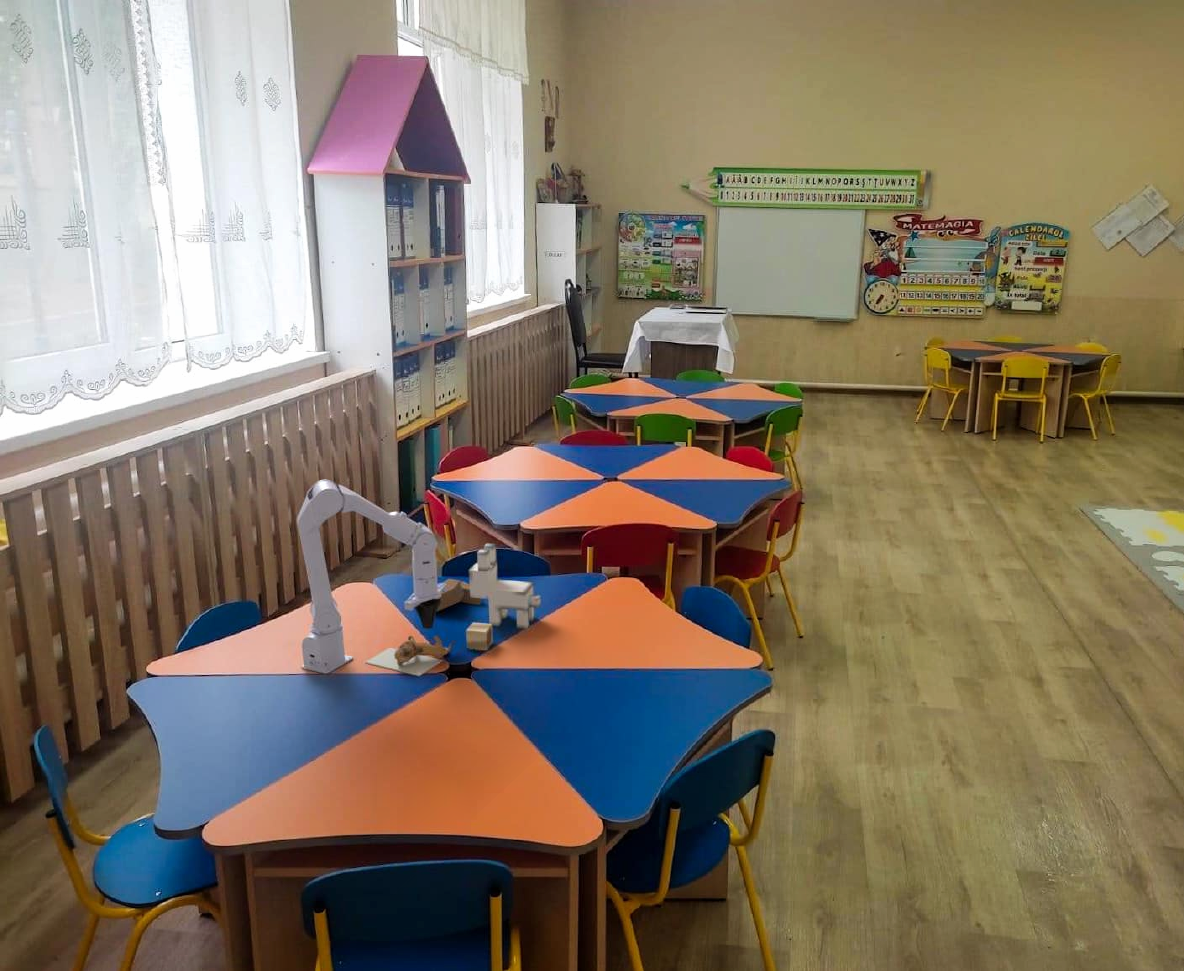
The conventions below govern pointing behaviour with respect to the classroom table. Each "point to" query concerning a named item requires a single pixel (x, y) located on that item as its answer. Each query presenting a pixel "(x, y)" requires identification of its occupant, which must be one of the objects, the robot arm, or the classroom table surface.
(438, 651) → the lion figurine
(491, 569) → the toy llama
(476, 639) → the tan cube
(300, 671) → the classroom table surface
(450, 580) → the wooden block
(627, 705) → the classroom table surface
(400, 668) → the felt mat
